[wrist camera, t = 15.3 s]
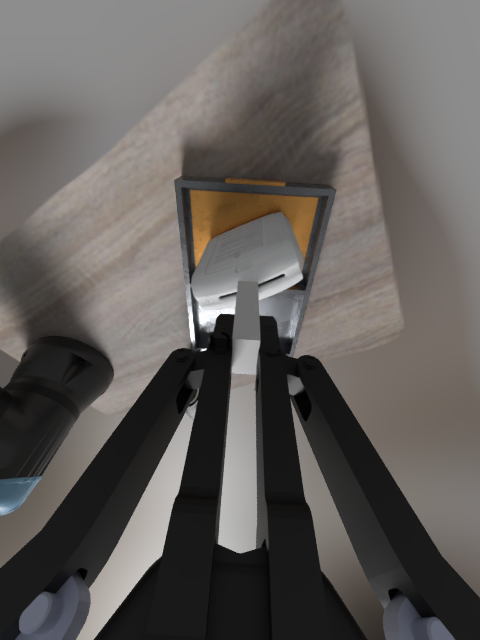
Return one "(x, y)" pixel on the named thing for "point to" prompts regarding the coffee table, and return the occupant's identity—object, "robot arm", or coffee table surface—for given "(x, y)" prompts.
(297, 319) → the tray
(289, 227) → the photo printer
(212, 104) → the coffee table surface
